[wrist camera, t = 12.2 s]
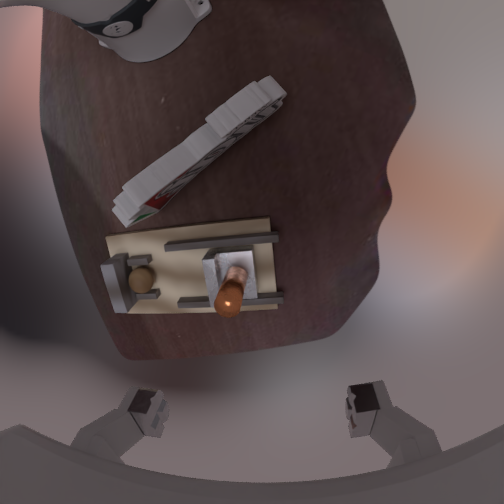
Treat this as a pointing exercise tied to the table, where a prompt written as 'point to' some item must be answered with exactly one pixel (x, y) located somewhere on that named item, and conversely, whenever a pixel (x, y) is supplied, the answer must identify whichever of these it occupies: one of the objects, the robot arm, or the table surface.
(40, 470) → the robot arm
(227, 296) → the handle
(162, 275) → the press bed
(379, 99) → the table surface
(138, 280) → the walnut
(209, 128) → the decorative sign
